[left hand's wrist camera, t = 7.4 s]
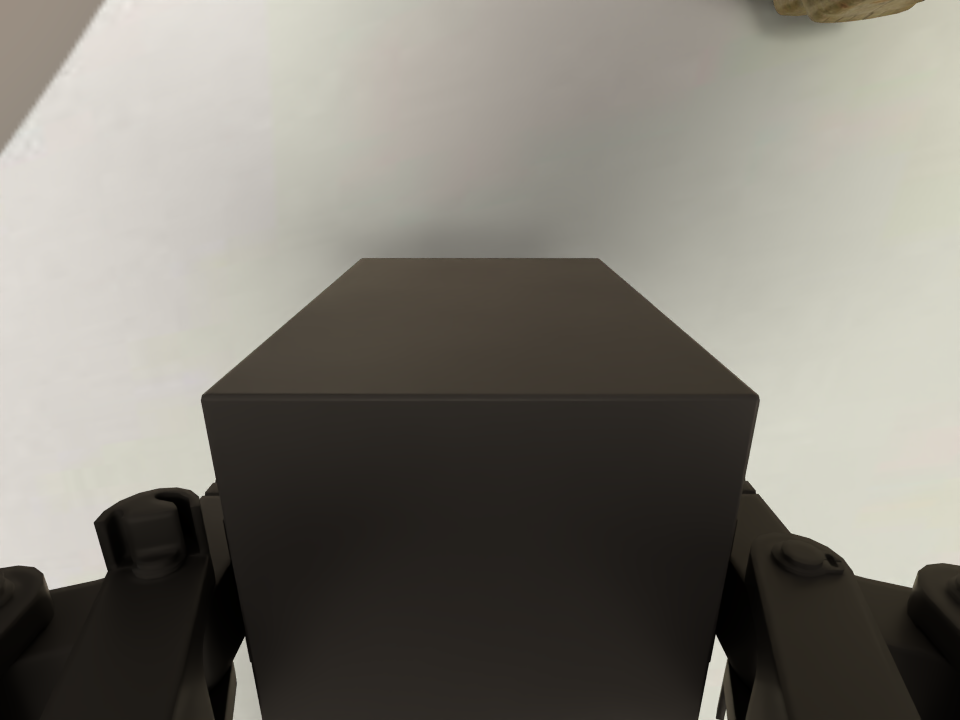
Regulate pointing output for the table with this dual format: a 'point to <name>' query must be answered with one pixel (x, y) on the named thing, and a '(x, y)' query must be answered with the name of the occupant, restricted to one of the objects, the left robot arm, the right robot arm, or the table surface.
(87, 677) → the left robot arm
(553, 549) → the bar
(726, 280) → the table surface
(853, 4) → the sculpture
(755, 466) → the table surface
